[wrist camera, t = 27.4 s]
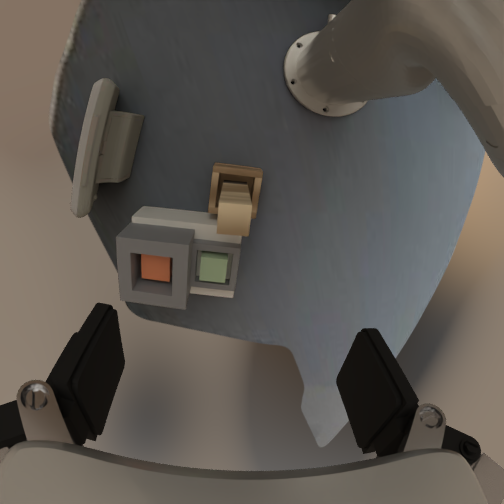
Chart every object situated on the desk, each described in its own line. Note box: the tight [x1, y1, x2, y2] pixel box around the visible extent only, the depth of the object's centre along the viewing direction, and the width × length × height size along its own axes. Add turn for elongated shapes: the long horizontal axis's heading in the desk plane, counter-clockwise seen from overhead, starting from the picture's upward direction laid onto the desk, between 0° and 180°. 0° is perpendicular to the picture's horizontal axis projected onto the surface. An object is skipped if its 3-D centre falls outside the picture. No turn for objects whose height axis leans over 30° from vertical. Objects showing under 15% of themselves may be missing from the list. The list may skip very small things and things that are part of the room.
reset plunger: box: [141, 254, 172, 282], centre depth 34 cm, size 4×4×2 cm
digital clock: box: [71, 78, 144, 218], centre depth 29 cm, size 16×9×11 cm, turn 151°
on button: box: [199, 251, 228, 283], centre depth 36 cm, size 3×3×2 cm
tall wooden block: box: [217, 180, 252, 236], centre depth 32 cm, size 3×3×12 cm
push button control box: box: [116, 206, 242, 310], centre depth 36 cm, size 10×14×10 cm
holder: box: [208, 162, 263, 219], centre depth 36 cm, size 6×6×4 cm
